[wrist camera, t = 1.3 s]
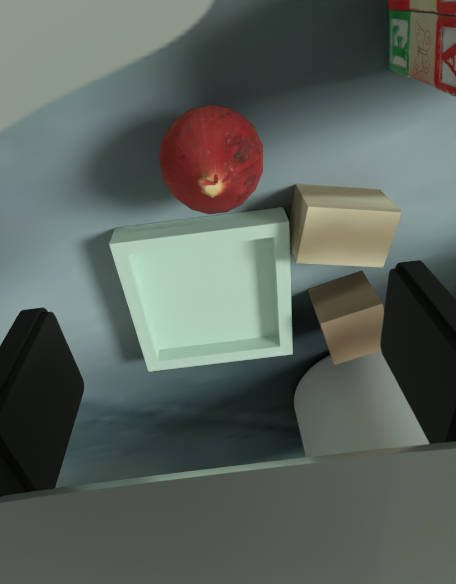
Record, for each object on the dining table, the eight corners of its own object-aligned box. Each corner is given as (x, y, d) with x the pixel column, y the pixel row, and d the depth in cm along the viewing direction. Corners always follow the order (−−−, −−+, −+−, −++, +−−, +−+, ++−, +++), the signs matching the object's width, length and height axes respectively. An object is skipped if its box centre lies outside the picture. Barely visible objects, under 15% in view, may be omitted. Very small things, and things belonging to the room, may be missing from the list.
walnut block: (307, 288, 34) (320, 323, 30) (361, 270, 33) (382, 303, 29) (320, 328, 36) (334, 364, 33) (371, 311, 36) (391, 347, 32)
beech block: (295, 183, 29) (308, 206, 25) (379, 188, 29) (402, 212, 26) (286, 235, 31) (296, 263, 28) (363, 239, 32) (382, 267, 28)
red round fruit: (228, 74, 25) (238, 100, 18) (270, 159, 28) (293, 208, 21) (146, 125, 26) (128, 167, 19) (195, 201, 29) (194, 260, 22)
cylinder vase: (402, 426, 45) (574, 785, 24) (286, 431, 44) (363, 805, 24) (436, 338, 38) (721, 740, 17) (299, 342, 37) (424, 766, 16)
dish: (115, 228, 30) (109, 244, 28) (283, 207, 30) (289, 221, 28) (151, 351, 37) (148, 371, 35) (287, 335, 36) (292, 354, 34)
